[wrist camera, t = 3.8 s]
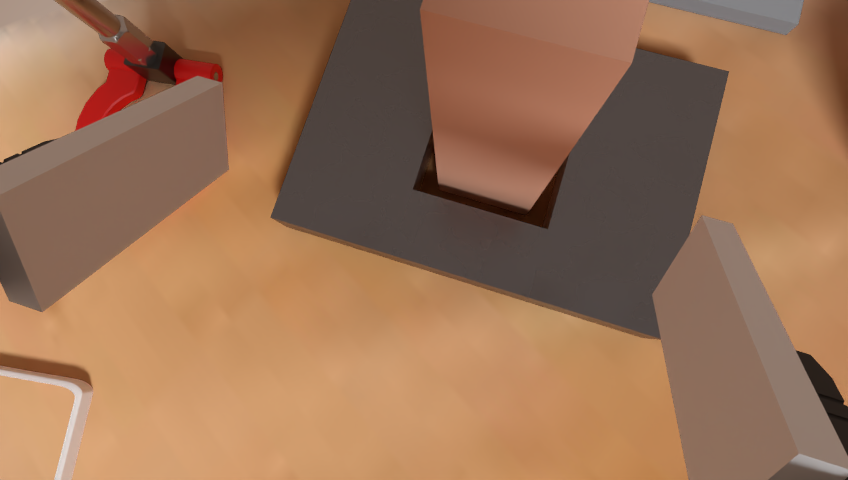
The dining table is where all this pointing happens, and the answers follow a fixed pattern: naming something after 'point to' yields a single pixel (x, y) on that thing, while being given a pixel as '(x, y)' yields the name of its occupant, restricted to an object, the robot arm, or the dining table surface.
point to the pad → (746, 11)
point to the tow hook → (130, 61)
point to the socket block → (488, 232)
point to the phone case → (77, 417)
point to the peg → (519, 87)
